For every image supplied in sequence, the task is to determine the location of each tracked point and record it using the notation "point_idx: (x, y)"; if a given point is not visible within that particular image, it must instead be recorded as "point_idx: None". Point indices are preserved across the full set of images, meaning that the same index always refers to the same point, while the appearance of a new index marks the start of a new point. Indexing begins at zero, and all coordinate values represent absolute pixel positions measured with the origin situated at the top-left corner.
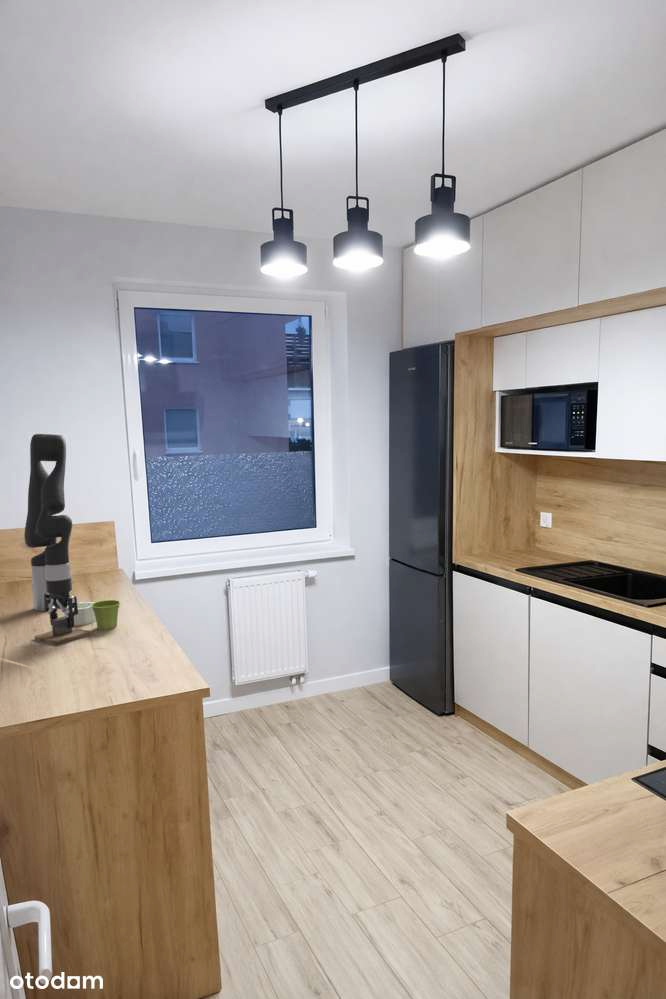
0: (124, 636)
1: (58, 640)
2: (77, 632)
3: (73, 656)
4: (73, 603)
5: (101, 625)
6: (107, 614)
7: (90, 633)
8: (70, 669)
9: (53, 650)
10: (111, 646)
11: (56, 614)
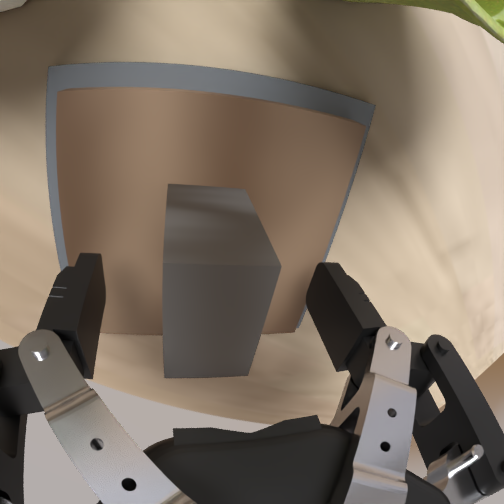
0: (492, 93)
1: (288, 322)
2: (295, 181)
3: (405, 329)
4: (468, 441)
5: (374, 2)
6: (486, 5)
7: (334, 94)
8: None
9: (300, 337)
10: (484, 217)
11: (79, 327)
